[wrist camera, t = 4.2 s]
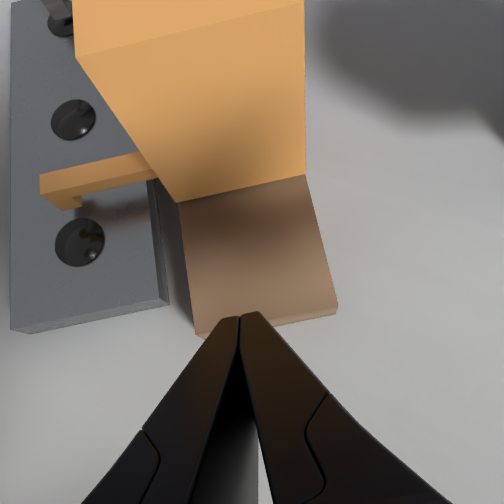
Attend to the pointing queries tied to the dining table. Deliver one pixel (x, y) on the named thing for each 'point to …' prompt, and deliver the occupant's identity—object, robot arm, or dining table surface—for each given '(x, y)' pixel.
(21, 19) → the bolt hole plate
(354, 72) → the dining table surface
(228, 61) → the block
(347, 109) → the dining table surface
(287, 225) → the rail
